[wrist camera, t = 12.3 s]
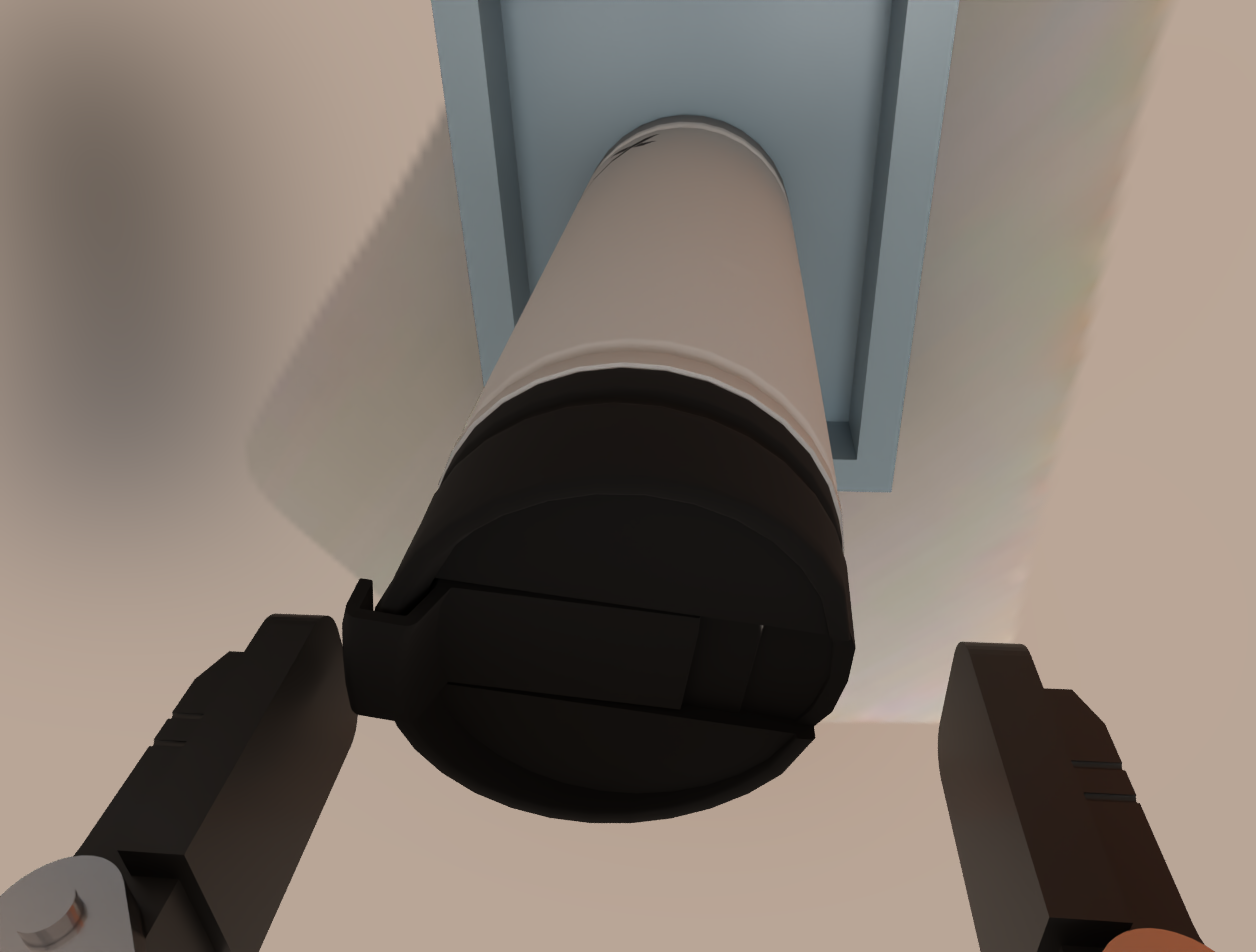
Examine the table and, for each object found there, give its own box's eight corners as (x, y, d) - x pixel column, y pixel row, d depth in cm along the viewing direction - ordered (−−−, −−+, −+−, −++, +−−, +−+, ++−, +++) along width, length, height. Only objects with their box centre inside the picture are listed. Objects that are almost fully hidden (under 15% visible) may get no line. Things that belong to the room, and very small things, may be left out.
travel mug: (584, 94, 26) (317, 450, 10) (811, 131, 26) (944, 553, 9) (564, 298, 30) (342, 822, 13) (764, 331, 30) (802, 901, 13)
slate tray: (458, -71, 25) (421, -67, 22) (942, -92, 24) (971, -90, 21) (518, 432, 34) (497, 483, 31) (877, 438, 32) (891, 492, 30)
